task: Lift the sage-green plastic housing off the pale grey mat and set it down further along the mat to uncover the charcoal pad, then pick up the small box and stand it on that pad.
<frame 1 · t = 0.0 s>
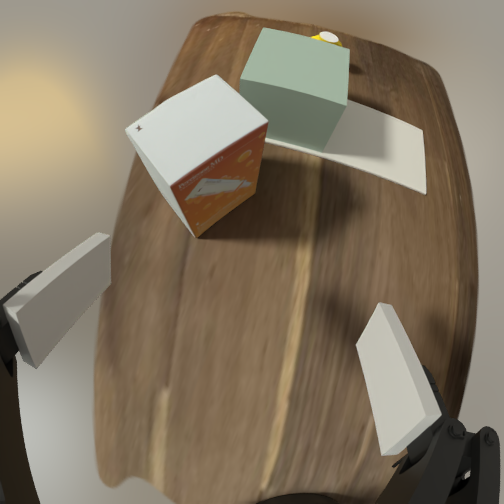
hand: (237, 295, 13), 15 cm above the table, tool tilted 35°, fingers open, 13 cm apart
watch: (319, 64, 35), on the table
small box: (209, 195, 30), on the table
housing: (287, 111, 32), resting on mat
mat: (338, 127, 32), on the table
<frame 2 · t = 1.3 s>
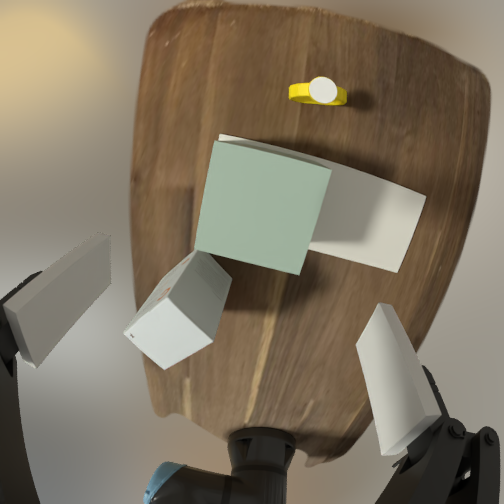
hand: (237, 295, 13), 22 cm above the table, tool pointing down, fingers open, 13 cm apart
watch: (314, 98, 28), on the table
small box: (197, 277, 38), on the table
housing: (264, 191, 32), resting on mat
mat: (319, 206, 33), on the table
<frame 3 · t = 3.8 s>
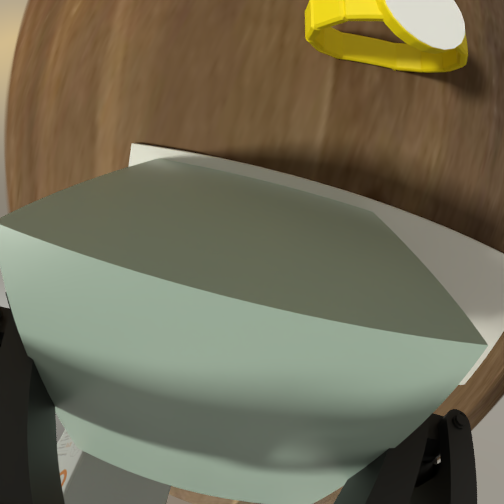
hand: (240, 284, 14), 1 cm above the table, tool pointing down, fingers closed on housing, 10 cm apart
watch: (366, 52, 9), on the table
small box: (139, 392, 20), on the table
housing: (241, 280, 14), resting on mat, touching gripper
mat: (364, 305, 14), on the table
when the fingers open (2 cm above the table, at t = 10.2 s): housing drops 1 cm, resting on mat.
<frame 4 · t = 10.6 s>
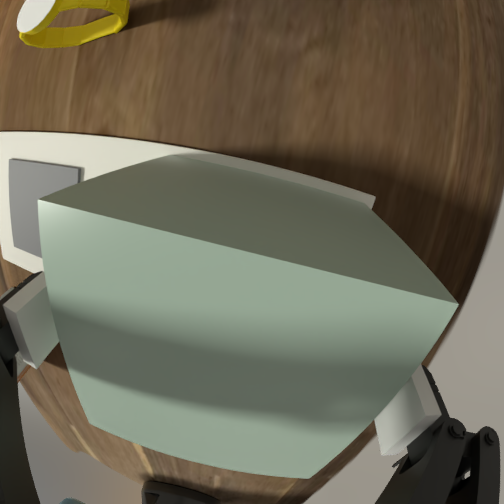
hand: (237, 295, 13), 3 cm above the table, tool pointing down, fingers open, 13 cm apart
watch: (101, 29, 11), on the table
housing: (245, 266, 15), resting on mat
mat: (119, 231, 16), on the table
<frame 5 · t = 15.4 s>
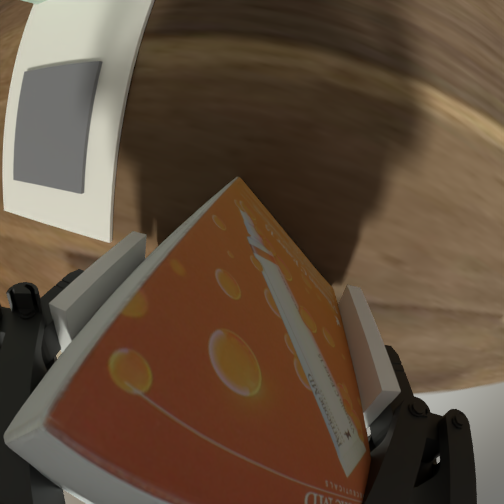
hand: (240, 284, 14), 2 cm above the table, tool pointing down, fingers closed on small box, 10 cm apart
small box: (245, 266, 15), on the table, touching gripper
mat: (74, 24, 10), on the table
when the fingers open (4 cm above the table, at t = 21.9 s): small box drops 1 cm, resting on mat.
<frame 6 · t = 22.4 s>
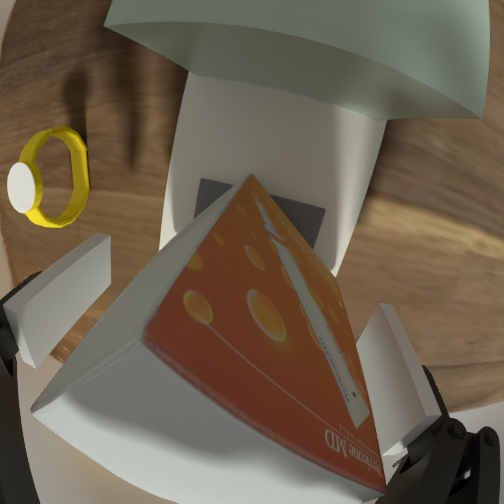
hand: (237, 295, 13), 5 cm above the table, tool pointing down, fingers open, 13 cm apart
watch: (83, 168, 16), on the table
small box: (254, 255, 17), resting on mat
housing: (308, 14, 11), resting on mat
mat: (276, 140, 14), on the table
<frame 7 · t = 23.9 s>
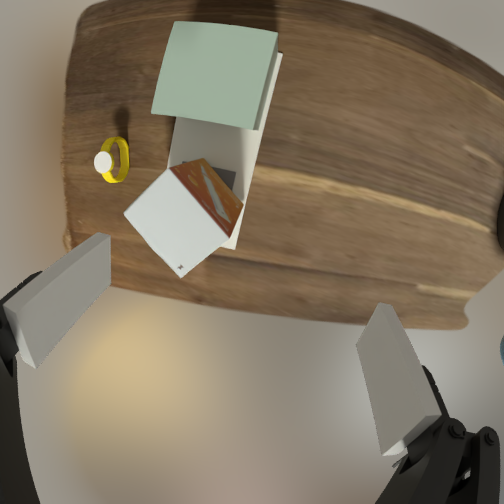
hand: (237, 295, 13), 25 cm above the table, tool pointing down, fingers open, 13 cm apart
watch: (125, 156, 35), on the table
small box: (206, 195, 36), point 1 cm above the table, touching mat
housing: (227, 84, 30), resting on mat
mat: (214, 143, 33), on the table
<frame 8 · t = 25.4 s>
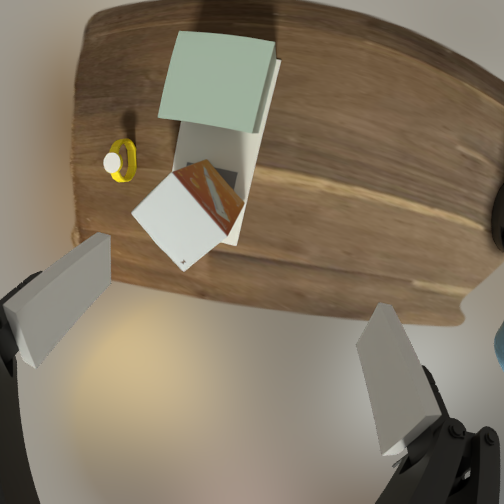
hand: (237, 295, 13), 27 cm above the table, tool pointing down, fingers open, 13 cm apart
watch: (133, 157, 37), on the table
small box: (209, 194, 38), resting on mat
housing: (229, 89, 32), resting on mat
mat: (217, 145, 35), on the table
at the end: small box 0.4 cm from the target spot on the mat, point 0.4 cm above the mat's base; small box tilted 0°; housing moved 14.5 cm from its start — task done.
